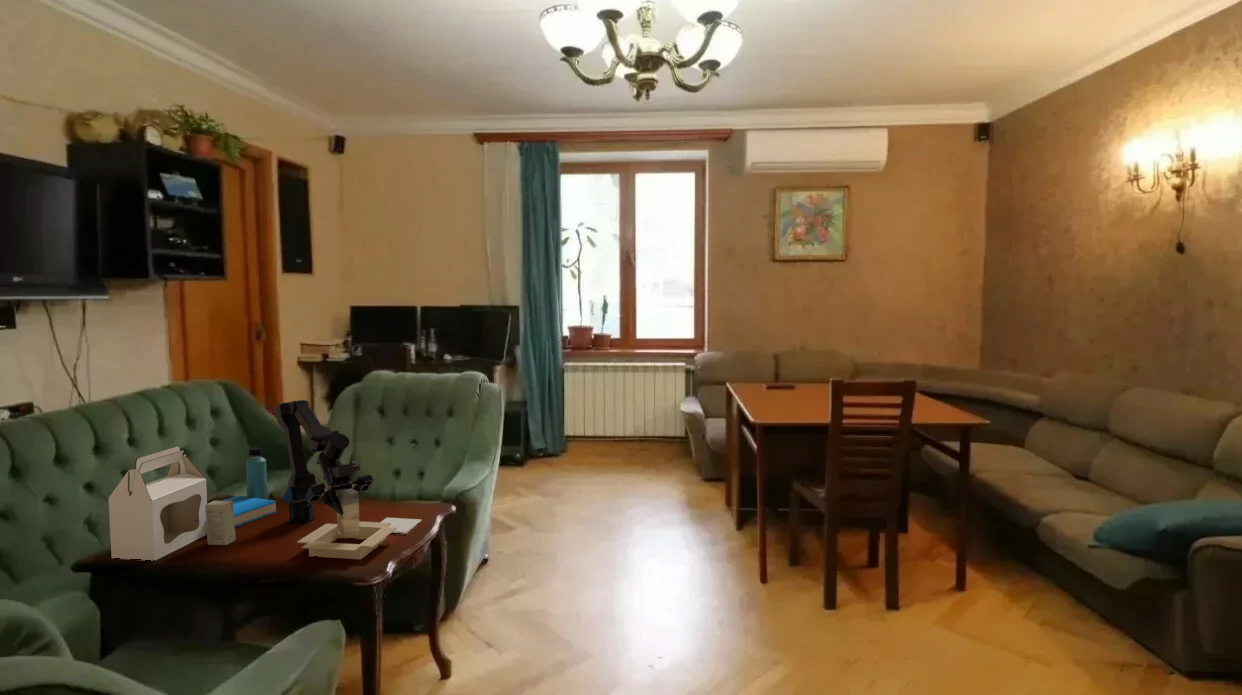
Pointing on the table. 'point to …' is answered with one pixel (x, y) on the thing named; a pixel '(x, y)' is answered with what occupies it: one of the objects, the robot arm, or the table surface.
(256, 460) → the beverage bottle
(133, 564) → the table surface
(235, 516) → the book
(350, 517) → the capped block
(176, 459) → the gable box
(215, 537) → the skincare box
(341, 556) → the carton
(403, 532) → the white square tile
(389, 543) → the table surface
